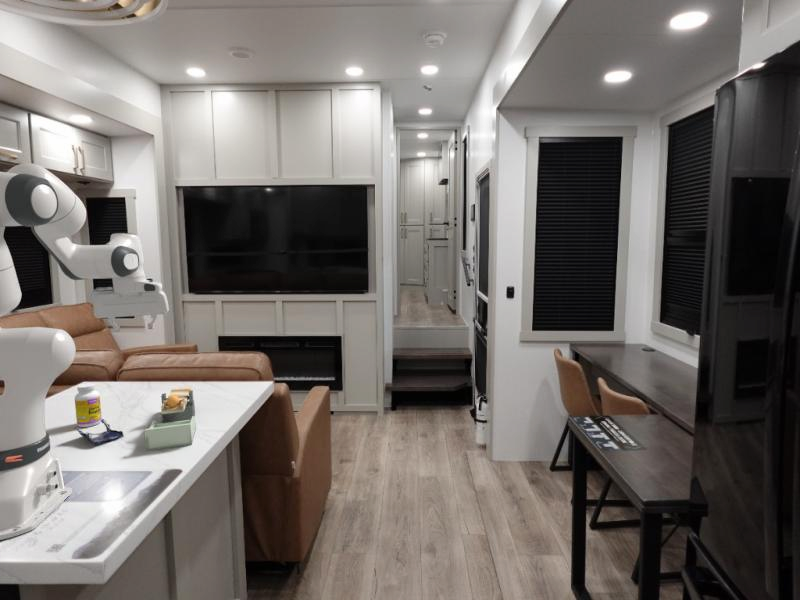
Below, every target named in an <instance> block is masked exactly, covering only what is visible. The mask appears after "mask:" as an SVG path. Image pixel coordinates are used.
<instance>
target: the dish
mask: <svg viewBox="0 0 800 600" xmlns="http://www.w3.org/2000/svg"><path fill="white" fill-rule="evenodd" d="M196 430H197V423H196V415H195V416H192V419H191V420H184V421H176V422H168V423H162V422H161V423H157V420H152V422H151V424H150V427H149V428H145V429H144V433H143V434H144V440H145V441H144V443H145V451H146V452H149V451H155V450H157V451H158V450H163V449H169V448H176V447H177V448H178V447H182V446H183V447H184V446H191V445H193V441H194V438H195V434H196Z"/></svg>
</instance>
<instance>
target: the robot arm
mask: <svg viewBox="0 0 800 600" xmlns="http://www.w3.org/2000/svg"><path fill="white" fill-rule="evenodd" d="M86 221H87V209H86V207H85V205H84V203H83V201H82V200H81V199H80V197H79V196H78V195H77V194H75V192H74V191H73V190H72V189H71V188H70V187H69V186H68V185H67V184H65V182H64V181H62V180H61V179H60V178H59V177H58V176H56V175H55V174H54V173H52V171H49V170H48V169H47V168H45V167H43V166H41V165H40V164H37V163H31V162H29V163H28V162H25V163H20V164H16V165H14V166H13V167H11V168H9V169H8V171H0V318H1V317H3V316H5V315H6V314H8V313H10V312H12V311H14V310H15V309H16V308H17V307H18V306H19V304H20V302H21V299H22V295H23V294H22V291H21V287H20V283H19V279H18V275H17V272H16V268H15V264H14V261H13V257H12V255H11V252H10V249H9V246H8V245H7V242H6V240H5V238H4V233H5V229H6V227H27V228H29V227H30V231H31V232H32V233H33V235H34V236H35V239H37V241H38V242H39V243H40V244H41V245H42V246H43V247H44V249H45V250H46V251H47V252H48V253H49V254H50V255H51V256H52V257H53V259H54V260H55V261H56V262H57V264H58V266H59V268H60V270H61V271H62V273H63V275H65V276H66V277H67V278H69V279H70V280H73V281H81V280H84V281H85V280H95V279H112V286H108V287H96V288H95V289H93V290H92V292H91V299H92V301H93V316H94V317H95V318H96V319H106V318H107V322H108V323H109V324H110V325H111V327H112V329H113V330H112V331H113V332H114V333H115V332H120V331H121V325H120V324H117V323H116V321H115V320H116V318H123V317H124V318H125V317H137V316H138V317H139V316H140V317H141V316H150V318H151V319H152V320H151V322H148V323H147V329H148V330H154V329H155V322H156V320H157V319H158V315H166V314H167V313H168V312H170V311H169V310H170V306H169V302H168V297H167V294H166V292H165V291H163V284H162V283H161V282H159V281H155V280H149V279H146V277H147V276H146V273H145V271H144V264H145V258H144V250H143V245H142V242H141V239H140V237H139V236H138V235H136V234H135V233H131V232H130V233H128V232H127V233H126V232H114V233H112V234H111V235H110V239H109V241H108V242H107V243H105V244H96V245H95V244H89V245H85V244H77V243H73V242H72V240H70V239H69V237H73V236H74V235H75V234H77V233H78V232H79V231H80V230H81V229H82V227H83V226H84V224H85V222H86ZM76 349H77V347H76V344H75V341H74V339H73V337H72V336H71V335H70V334H69V333H68V332H67V331H66V330H64V329H59V328H51V327H43V326H32V327H31V326H30V327H15V328H14V327H11V328H4V327H3V328H2V326H0V381H3V382H4V390H3V392H2V394H0V541H1V540H7V539H10V538H13V537H17V536H21V535H22V534H25V533H28V532H30V531H31V532H32V530H34V529H35V528H36V527H38V526H39V525H40V524H41V523H42V522H43V521H44V520H45V519H46V518H48V516H50V515H51V514H52V513H53V512H54V511H55V510H56V509H57V508H58V507H60V505H61V504H62V503H64V502H65V501H66V500H67V499H68V498H69V497H70V496H71V495H72V494H73V490H72V487H67V486H65V483H64V479H63V472H62V467H61V464H60V460H59V459H58V457H55V456H54V455H53V454H52V453H51V439H50V435H49V433H48V432H47V427H46V416H45V415H46V414H45V412H46V411H45V407H46V405H45V403H46V398H47V394H48V392H49V389H50V387H51V385H52V384H53V383H54V382H55V380H56V379H57V378H58V377H59V376H61V374H63V373H64V372H66V371H67V370H68V369H69V368H70V366H71V365H72V364H73V362H74V360H75V357H76V351H77V350H76ZM68 496H69V497H68ZM67 497H68V498H67ZM66 498H67V499H66ZM65 499H66V500H65ZM64 500H65V501H64Z"/></svg>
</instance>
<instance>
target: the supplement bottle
mask: <svg viewBox="0 0 800 600" xmlns="http://www.w3.org/2000/svg"><path fill="white" fill-rule="evenodd" d="M77 391H78V393H77V394H76V395H75V396H74V404H75V405H74V407H75V417H76V425H77V427H79V428H89V427H94V426H97V425H98V424H100V423H102V422H101V420H102V419H103V418H102V406H101V396H100V393H99V391H97V390H96V383H93V382H90V383H89V382H87V383H82V384H78V385H77ZM98 420H99V421H98Z"/></svg>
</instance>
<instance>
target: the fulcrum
mask: <svg viewBox="0 0 800 600" xmlns="http://www.w3.org/2000/svg"><path fill="white" fill-rule="evenodd" d="M166 398H167V393H166V392H165V393H162V394H161V404H162V403H163V401H164V400H166ZM161 411H162V409H161ZM192 416H195V417H196V407H195V400H194V391H193V390H192V389H191V391H189V400H188V401H187V404H186V406H185V409H184V412H175V413H167V414H162V413H161V423H168V422H176V421H184V420H191V419H192Z"/></svg>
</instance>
